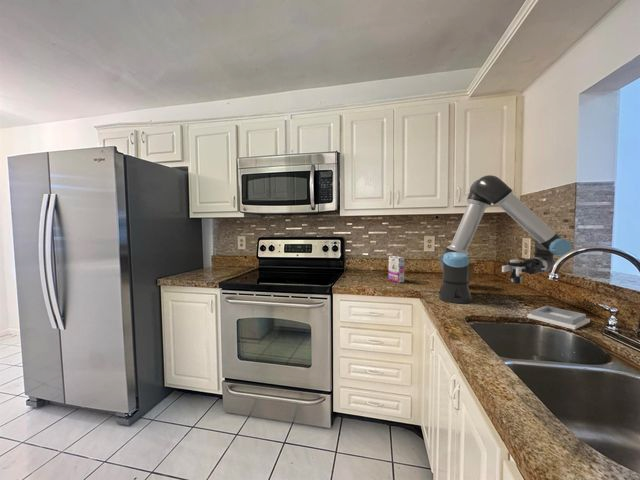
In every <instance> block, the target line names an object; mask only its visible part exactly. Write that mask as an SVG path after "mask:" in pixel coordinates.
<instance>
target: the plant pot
mask: <svg viewBox="0 0 640 480" xmlns="http://www.w3.org/2000/svg"><path fill="white" fill-rule="evenodd" d="M475 265H476V261H475V260H471V259H469V269H468V285H469V284H470V282H471V280H472V276H473V274H474V269H475Z"/></svg>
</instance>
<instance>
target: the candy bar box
mask: <svg viewBox="0 0 640 480" xmlns="http://www.w3.org/2000/svg"><path fill="white" fill-rule="evenodd" d="M405 260H406V257H403V256H397V255H390V256H388V268H387V269H388V273H387V275H388V276H387V277H388V281H391V282H394V283H398V284H403V283H405V268H406V267H405V265H406V261H405Z"/></svg>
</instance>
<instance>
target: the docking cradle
mask: <svg viewBox="0 0 640 480" xmlns="http://www.w3.org/2000/svg"><path fill="white" fill-rule="evenodd" d="M526 317H527V318H528V319H531V320H536V321H539V322H544V323H548V324H551V325H555V326H559V327H563V328H567V329H571V330H577V329H579V328H581V327H583V326H585V325H587V324H589V323H590V322H591V319H590V318H587V314H586V313H583V312H582V313H581V312H577V311H574V310H573V311H572V310H568V309H562V308H558V307H554V306H550V305H544V306H541V307H539V308H535V309H532V310H531V312H530V313H527V316H526Z"/></svg>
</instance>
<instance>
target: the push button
mask: <svg viewBox="0 0 640 480" xmlns="http://www.w3.org/2000/svg"><path fill="white" fill-rule="evenodd" d="M522 262H523V261H520V259H510V260H509V261H507V264H509V266H510V267H512V270H511V275H509V276H508V277H509V279H508V280H509V281H510V282H511V283H515V284H522V277H521V274H516V268H518V267H520V266H522Z"/></svg>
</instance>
